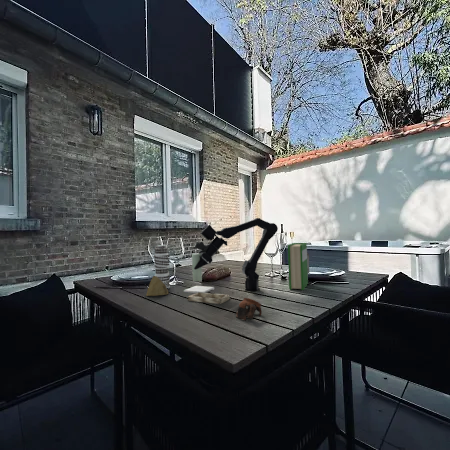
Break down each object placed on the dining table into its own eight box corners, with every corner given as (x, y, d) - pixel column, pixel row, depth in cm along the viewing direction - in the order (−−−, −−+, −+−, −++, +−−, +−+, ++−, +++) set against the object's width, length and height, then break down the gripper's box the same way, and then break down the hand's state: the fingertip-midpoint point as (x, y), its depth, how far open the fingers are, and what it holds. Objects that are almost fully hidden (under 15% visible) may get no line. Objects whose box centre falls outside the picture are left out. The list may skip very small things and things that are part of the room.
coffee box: (298, 277, 190) (297, 252, 190) (308, 277, 189) (308, 252, 189) (299, 279, 181) (298, 254, 182) (310, 280, 180) (309, 254, 180)
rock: (173, 288, 157) (159, 284, 161) (168, 277, 152) (153, 274, 156) (162, 304, 150) (147, 300, 154) (156, 293, 145) (141, 289, 149)
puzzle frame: (229, 300, 138) (229, 295, 138) (220, 305, 129) (220, 299, 129) (198, 297, 145) (198, 292, 145) (188, 301, 137) (188, 296, 137)
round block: (203, 280, 153) (202, 253, 153) (195, 281, 150) (194, 254, 150) (198, 279, 157) (197, 253, 157) (191, 280, 154) (190, 254, 154)
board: (214, 289, 161) (214, 287, 161) (203, 294, 150) (203, 291, 150) (195, 288, 166) (195, 285, 166) (184, 293, 156) (183, 290, 156)
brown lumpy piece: (231, 316, 115) (239, 296, 118) (253, 325, 116) (259, 305, 119) (240, 317, 104) (247, 295, 106) (263, 327, 105) (270, 305, 107)
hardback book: (303, 290, 152) (301, 245, 153) (289, 289, 155) (287, 245, 155) (307, 284, 169) (306, 242, 169) (295, 283, 172) (293, 242, 172)
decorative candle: (163, 290, 165) (161, 246, 165) (151, 288, 169) (149, 246, 169) (173, 286, 172) (172, 244, 173) (161, 285, 177) (160, 244, 177)
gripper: (201, 235, 163) (182, 256, 161) (205, 236, 145) (183, 260, 143) (215, 249, 165) (197, 269, 163) (221, 251, 146) (200, 275, 144)
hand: (194, 268), depth 153 cm, fingers closed on round block, 5 cm apart
